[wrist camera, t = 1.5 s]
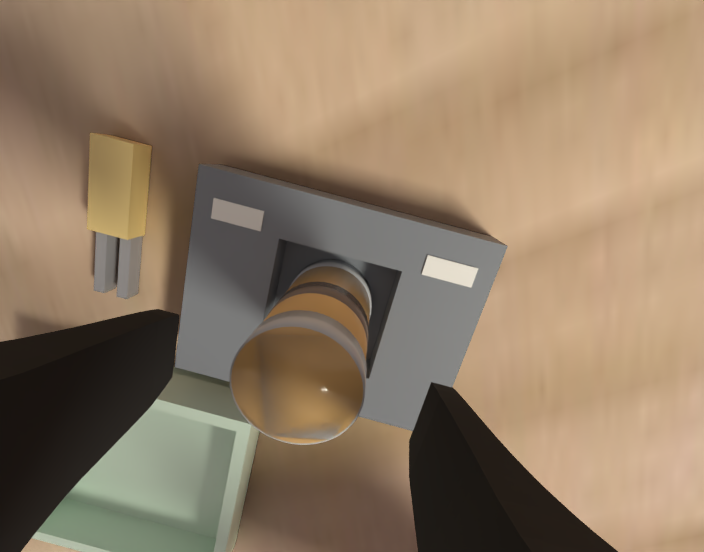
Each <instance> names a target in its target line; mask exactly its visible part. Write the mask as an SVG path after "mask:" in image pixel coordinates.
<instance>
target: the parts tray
mask: <svg viewBox="0 0 704 552" xmlns="http://www.w3.org/2000/svg"><path fill="white" fill-rule="evenodd" d="M259 432H260V431H258V430H257V429H256V428H254V427H253V426H252V425H251V424H250V423H249V422H248V421H247V420H246V419H245V418H244V417H243V415H242V414H241V413H240V411H239V410H238V408H237V406H236V404H235V402H234V400H233V397H232V394H231V389H230V382H229V381H225V380H221V379H217V378H214V377H210V376H206V375H203V374H199V373H195V372H191V371H188V370H184V369H180V368H176V367H175V366H174V367H173V376H172V378H171V380H170V381H169V383H168V384H167V385H166V387H165V388H164V390H163V391H162V392H161V394H160V395H159V396H158V398H157V399H156V400H155V402H154V403H153V404H152V406H151V407H150V408H149V409H148V410H147V411H146V412H145V413H144V414H143V416H142V417H141V418H140V419H139V420H138V421H137V422H136V423H135V424H134V425H133V426H132V427H131V428H130V429H129V430H128V431H127V432H126V433H125V434H124V435H123V436H122V437H121V438H120V439H119V440H118V442H117V443H116V444H115V445H114V446H113V447H112V448H111V449H110V450H109V451H108V452H107V453H106V454H105V455H104V456H103V457H102V458H101V459H100V460H99V461H98V462H97V463H96V464H95V465H94V466H93V467H92V468H91V469H90V470H89V471H88V472H87V473H86V474H85V476H84V477H83V478H82V479H81V480H80V481H79V482H78V483H77V484H76V485H75V486H74V487H73V489H72V490H71V491H70V492H69V493H68V494H67V495H66V496H65V497H64V499H63V500H62V501H61V502H60V504H59V505H58V506H57V507H56V508H55V510H54V511H53V512H52V513H51V515H50V516H49V517H48V518H47V519H46V521H45V522H44V523H43V524H42V526H41V527H40V528H39V529H38V530H37V532H36V533H35V534H34V535H33V537H32V538H33V539H37V540H41V541H45V542H48V543H52V544H56V545H59V546H63V547H67V548H70V549H74V550H78V551H81V552H232V551H233V549H234V546H235V544H236V540H237V535H238V530H239V526H240V521H241V516H242V512H243V507H244V502H245V498H246V493H247V488H248V484H249V479H250V474H251V470H252V465H253V460H254V456H255V451H256V446H257V442H258V437H259Z"/></svg>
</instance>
